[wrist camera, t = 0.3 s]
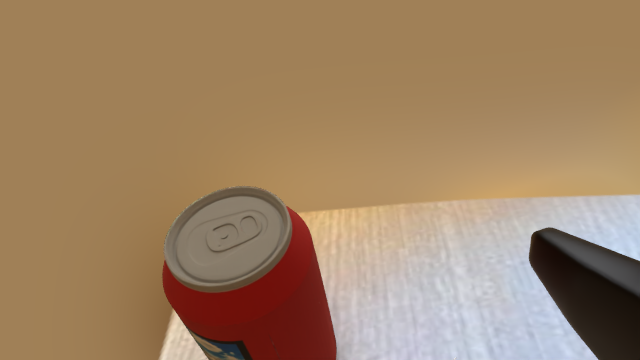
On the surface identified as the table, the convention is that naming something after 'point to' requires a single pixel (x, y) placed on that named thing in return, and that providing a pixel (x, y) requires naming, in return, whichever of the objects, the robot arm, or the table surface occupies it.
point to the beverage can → (247, 279)
